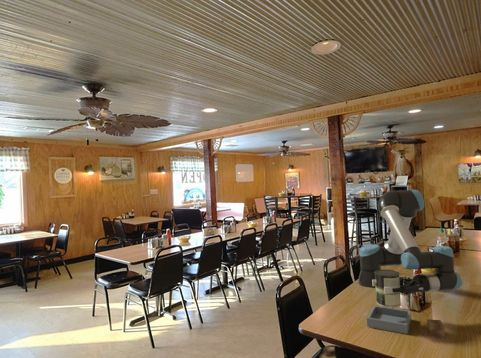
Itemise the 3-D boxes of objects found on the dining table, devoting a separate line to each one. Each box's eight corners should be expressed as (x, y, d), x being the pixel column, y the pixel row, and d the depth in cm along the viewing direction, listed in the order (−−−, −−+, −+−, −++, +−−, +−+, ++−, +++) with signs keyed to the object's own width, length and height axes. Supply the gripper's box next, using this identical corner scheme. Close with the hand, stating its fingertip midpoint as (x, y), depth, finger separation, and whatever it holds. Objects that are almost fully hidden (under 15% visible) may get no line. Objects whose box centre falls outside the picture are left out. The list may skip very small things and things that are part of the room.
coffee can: (373, 305, 146) (371, 273, 146) (380, 298, 154) (378, 268, 154) (397, 309, 139) (395, 276, 140) (403, 302, 147) (401, 271, 148)
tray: (367, 326, 144) (366, 318, 144) (374, 313, 158) (373, 305, 158) (407, 334, 136) (407, 324, 136) (411, 319, 149) (410, 311, 149)
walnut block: (430, 336, 133) (429, 324, 133) (427, 331, 138) (426, 319, 138) (444, 337, 131) (443, 325, 131) (441, 332, 136) (440, 320, 136)
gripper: (443, 299, 137) (392, 304, 135) (411, 283, 159) (367, 287, 158) (442, 281, 137) (391, 285, 135) (410, 268, 159) (366, 271, 158)
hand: (378, 286), depth 146 cm, fingers closed on coffee can, 10 cm apart
